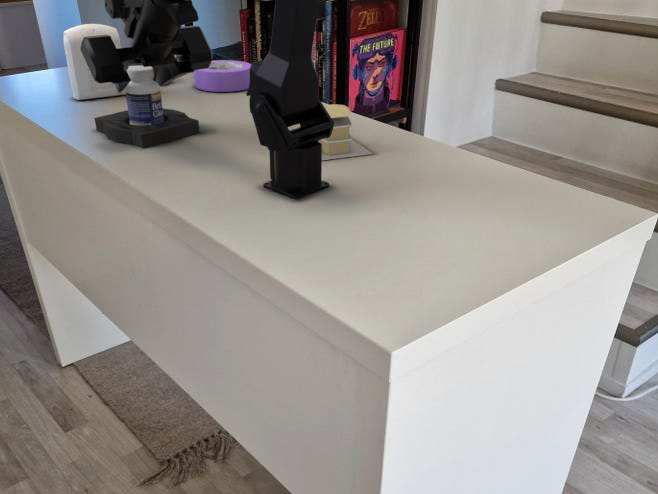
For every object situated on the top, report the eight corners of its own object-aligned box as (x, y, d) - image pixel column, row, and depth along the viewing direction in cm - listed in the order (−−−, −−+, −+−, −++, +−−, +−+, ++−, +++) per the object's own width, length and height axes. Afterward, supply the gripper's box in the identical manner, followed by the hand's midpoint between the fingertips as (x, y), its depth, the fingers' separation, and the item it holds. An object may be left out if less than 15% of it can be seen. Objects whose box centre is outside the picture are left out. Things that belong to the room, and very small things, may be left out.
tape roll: (209, 77, 140) (207, 57, 138) (261, 81, 138) (260, 61, 136) (185, 90, 131) (183, 69, 129) (240, 94, 129) (239, 73, 126)
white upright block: (123, 90, 131) (112, 20, 123) (131, 95, 128) (120, 23, 120) (70, 97, 126) (56, 24, 119) (77, 102, 123) (63, 28, 116)
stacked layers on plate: (372, 154, 101) (374, 116, 97) (317, 161, 98) (318, 122, 94) (345, 135, 108) (346, 100, 105) (293, 141, 105) (293, 105, 102)
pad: (205, 131, 109) (204, 119, 108) (137, 150, 101) (135, 136, 100) (157, 115, 116) (155, 103, 115) (89, 131, 108) (87, 119, 107)
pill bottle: (161, 137, 106) (153, 71, 101) (127, 136, 106) (117, 71, 101) (168, 127, 111) (160, 64, 105) (136, 126, 111) (126, 63, 105)
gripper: (196, -36, 97) (171, 36, 111) (70, -29, 88) (59, 48, 102) (228, 32, 97) (198, 95, 110) (105, 45, 87) (89, 113, 101)
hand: (138, 87), depth 106 cm, fingers open, 6 cm apart
